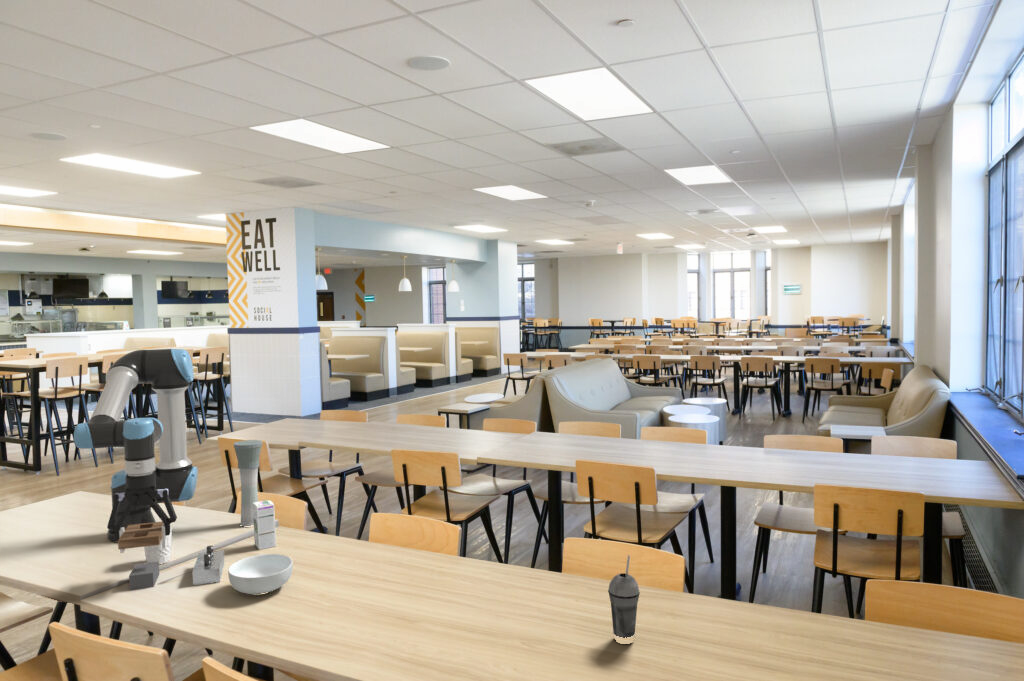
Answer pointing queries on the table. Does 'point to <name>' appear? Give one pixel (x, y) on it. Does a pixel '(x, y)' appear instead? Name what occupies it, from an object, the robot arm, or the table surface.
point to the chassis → (208, 567)
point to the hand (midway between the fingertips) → (144, 548)
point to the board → (141, 535)
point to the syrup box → (264, 524)
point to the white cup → (159, 551)
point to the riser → (144, 575)
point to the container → (248, 477)
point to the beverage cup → (624, 603)
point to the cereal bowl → (260, 573)
